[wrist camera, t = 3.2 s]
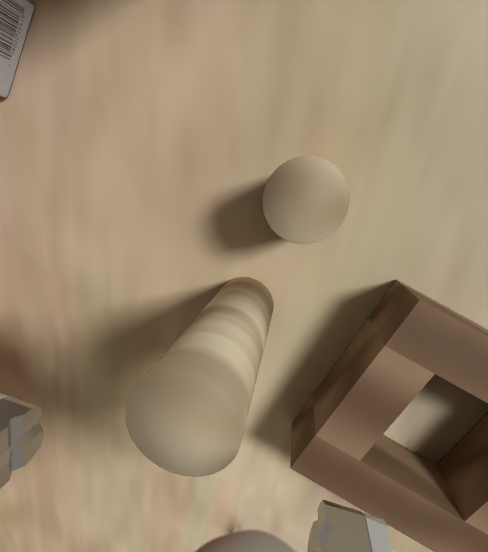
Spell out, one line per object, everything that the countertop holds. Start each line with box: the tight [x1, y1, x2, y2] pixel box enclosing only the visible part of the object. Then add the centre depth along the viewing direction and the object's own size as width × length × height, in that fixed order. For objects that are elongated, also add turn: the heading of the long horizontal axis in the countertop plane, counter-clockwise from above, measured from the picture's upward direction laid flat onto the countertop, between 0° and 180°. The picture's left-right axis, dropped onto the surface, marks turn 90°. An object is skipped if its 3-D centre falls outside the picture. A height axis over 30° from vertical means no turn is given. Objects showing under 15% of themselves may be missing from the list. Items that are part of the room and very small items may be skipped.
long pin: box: [125, 277, 273, 477], centre depth 16 cm, size 4×4×12 cm
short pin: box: [262, 156, 349, 244], centre depth 17 cm, size 4×4×5 cm
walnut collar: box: [290, 280, 488, 552], centre depth 19 cm, size 13×13×4 cm
